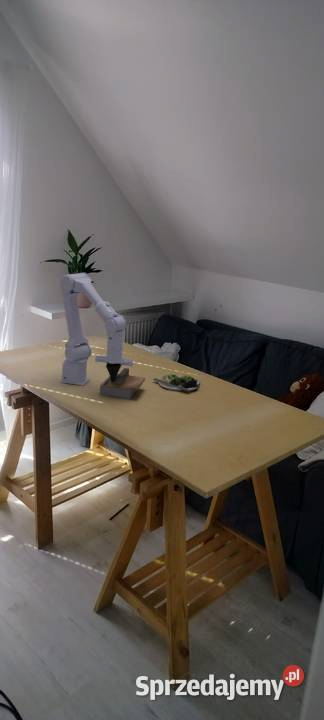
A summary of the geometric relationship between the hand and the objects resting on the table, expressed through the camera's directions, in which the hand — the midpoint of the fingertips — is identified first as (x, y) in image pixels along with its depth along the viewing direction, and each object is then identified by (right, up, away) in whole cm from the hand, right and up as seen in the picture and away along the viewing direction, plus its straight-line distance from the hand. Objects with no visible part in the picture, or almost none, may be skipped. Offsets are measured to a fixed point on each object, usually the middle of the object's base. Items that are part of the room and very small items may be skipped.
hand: (113, 381), depth 198 cm
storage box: (+2, -4, +6) cm, 7 cm away
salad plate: (+27, -3, +18) cm, 32 cm away
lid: (+5, -1, +4) cm, 6 cm away
